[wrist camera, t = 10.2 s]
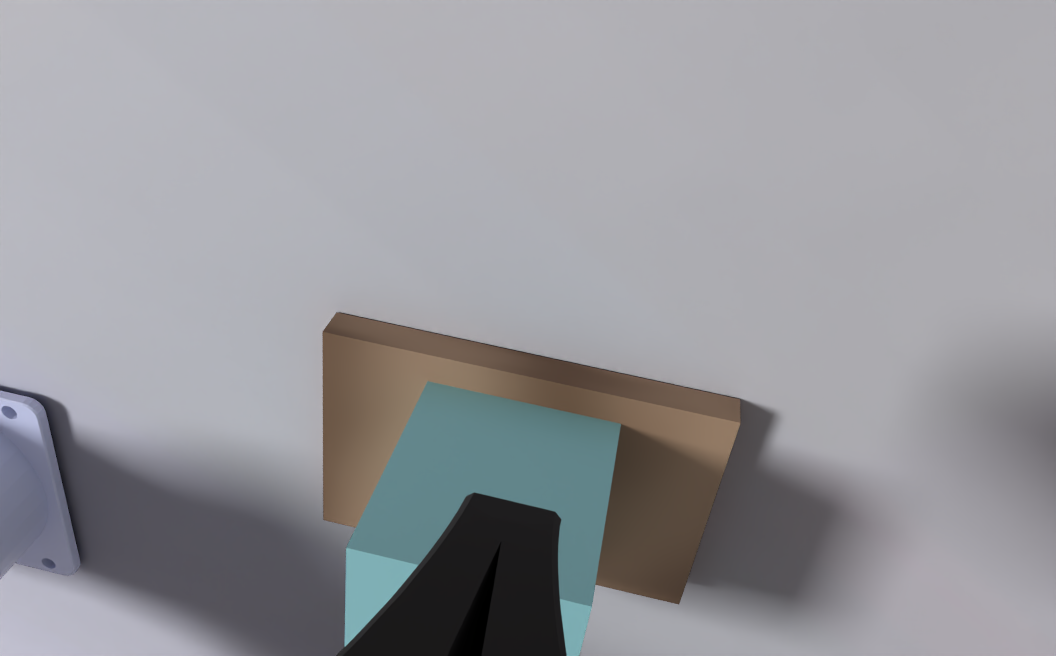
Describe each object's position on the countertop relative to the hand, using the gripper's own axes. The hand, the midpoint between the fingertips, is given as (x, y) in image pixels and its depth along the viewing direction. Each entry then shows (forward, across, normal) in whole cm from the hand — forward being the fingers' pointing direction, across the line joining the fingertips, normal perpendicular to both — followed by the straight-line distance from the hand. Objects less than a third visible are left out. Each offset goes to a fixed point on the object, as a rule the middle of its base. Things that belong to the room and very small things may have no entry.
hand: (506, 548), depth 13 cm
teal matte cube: (+9, +1, +7) cm, 11 cm away
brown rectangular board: (+10, +1, +7) cm, 12 cm away
